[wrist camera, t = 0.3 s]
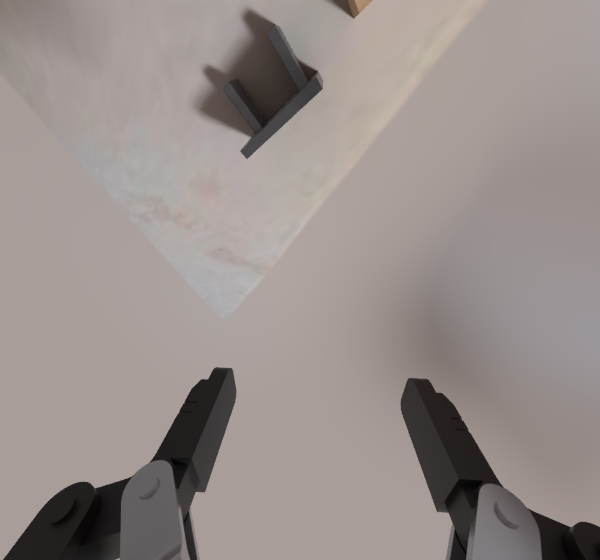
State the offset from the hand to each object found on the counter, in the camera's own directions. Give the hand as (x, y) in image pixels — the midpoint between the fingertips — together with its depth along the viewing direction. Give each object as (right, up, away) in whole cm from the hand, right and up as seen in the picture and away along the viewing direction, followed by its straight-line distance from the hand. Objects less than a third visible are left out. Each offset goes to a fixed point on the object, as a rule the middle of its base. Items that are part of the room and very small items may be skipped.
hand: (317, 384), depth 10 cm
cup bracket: (-4, +27, +15) cm, 32 cm away
